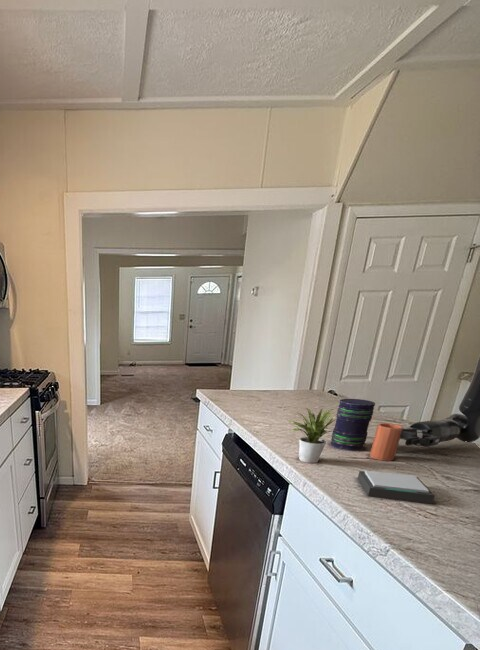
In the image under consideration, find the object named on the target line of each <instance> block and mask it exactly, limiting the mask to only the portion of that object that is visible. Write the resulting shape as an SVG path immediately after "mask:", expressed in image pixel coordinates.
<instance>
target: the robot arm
mask: <svg viewBox="0 0 480 650" xmlns="http://www.w3.org/2000/svg"><path fill="white" fill-rule="evenodd" d="M458 411H459V412H460V413H452V414H450V415H449V416H447V417H445V418H444V419H438V420H437V419H435V420H433V419H432V420H425V421H418V422H415V423H412V424H411V425H410V426H407V427H403V430H402V434H401V437H400V440H404V441H405V443H404V444H405V446H417V447H426V448H428V447H432V446H433V447H434V446H438V445H439V443H443V442H450V441H452V440H455V439H457V440H459V441H461V442H464V443H473V442H476V441H477V440H479V439H480V354H479V356H478V358H477V362H476V365H475V368H474V371H473V375H472V378H471V381H470V383H469V386H468V388H467V390H466V392H465V393H464V395H463V397H462V399H461V402H460V403H459V405H458ZM465 441H467V442H465Z"/></svg>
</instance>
